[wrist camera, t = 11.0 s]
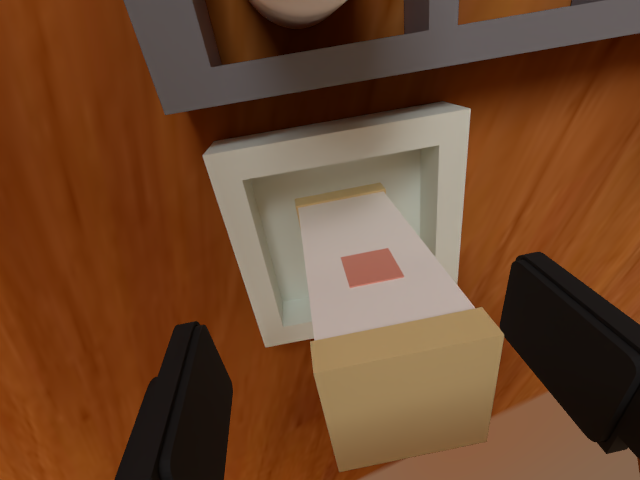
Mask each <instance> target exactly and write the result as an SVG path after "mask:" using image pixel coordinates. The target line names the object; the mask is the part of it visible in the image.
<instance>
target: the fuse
mask: <svg viewBox="0 0 640 480" xmlns="http://www.w3.org/2000/svg"><path fill="white" fill-rule="evenodd" d="M295 206H296V211H297V216H298V220H299V225H300V229H301V236H302V244H303V252H304V260H305V268H306V276H307V284H308V293H309V301H310V309H311V317H312V325H313V333H314V341H310V346H311V356H312V365H313V374H314V378H315V381H316V385H317V389H318V393H319V397H320V401H321V405H322V408H323V412H324V416H325V420H326V424H327V428H328V431H329V435H330V439H331V443H332V447H333V451H334V455H335V458H336V462H337V466H338V470H339V472H343V471H347V470H352V469H357V468H362V467H367V466H372V465H376V464H381V463H386V462H391V461H396V460H401V459H405V458H410V457H415V456H420V455H425V454H430V453H434V452H439V451H444V450H449V449H454V448H459V447H464V446H468V445H473V444H477V443H483V442H486V441H487V436H488V430H489V424H490V418H491V412H492V406H493V400H494V394H495V388H496V382H497V376H498V370H499V364H500V358H501V352H502V346H503V340H504V334H503V332H502V331H501V330H500V329H499V327H498V326H497V325H496V324H495V322H494V321H493V320H492V319H491V318H490V316H489V315H488V314H487V313H486V311H485V310H484V309H483V308H482V307H480V308H475V307H474V306H473V305H472V303H471V302H470V301H469V299H468V298H467V297H466V296H465V294H464V293H463V292H462V291H461V289H460V288H459V287H458V285H457V284H456V283H455V282H454V280H453V279H452V278H451V277H450V275H449V274H448V273H447V271H446V270H445V269H444V268H443V266H442V265H441V264H440V263H439V261H438V260H437V259H436V257H435V256H434V255H433V254H432V252H431V251H430V250H429V249H428V247H427V246H426V245H425V243H424V242H423V241H422V240H421V238H420V237H419V236H418V235H417V233H416V232H415V231H414V229H413V228H412V227H411V226H410V224H409V223H408V222H407V220H406V219H405V218H404V217H403V215H402V214H401V213H400V212H399V210H398V209H397V208H396V206H395V205H394V204H393V203H392V201H391V200H390V199H389V198H388V196H387V195H386V189H385V188H384V186H383V185H382V184H381V183H375V184H369V185H364V186H359V187H354V188H349V189H344V190H338V191H333V192H328V193H323V194H318V195H313V196H307V197H302V198H297V199H295Z"/></svg>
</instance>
